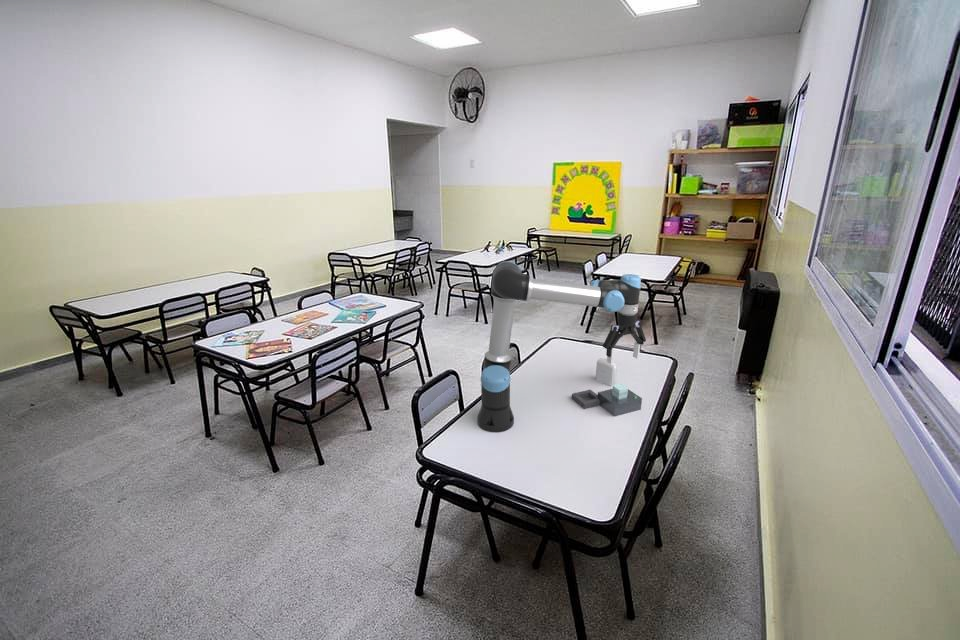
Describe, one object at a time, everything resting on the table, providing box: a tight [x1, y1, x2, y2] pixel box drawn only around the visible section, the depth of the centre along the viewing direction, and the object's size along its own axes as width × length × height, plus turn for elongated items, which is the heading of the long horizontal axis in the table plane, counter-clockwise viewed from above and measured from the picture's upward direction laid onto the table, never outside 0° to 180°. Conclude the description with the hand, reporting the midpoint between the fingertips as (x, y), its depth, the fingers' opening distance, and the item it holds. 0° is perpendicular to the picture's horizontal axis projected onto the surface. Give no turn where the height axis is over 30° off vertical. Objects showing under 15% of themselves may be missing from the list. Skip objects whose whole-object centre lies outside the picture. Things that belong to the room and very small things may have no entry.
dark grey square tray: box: [571, 389, 601, 410], centre depth 195 cm, size 10×10×3 cm
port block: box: [597, 388, 643, 418], centre depth 190 cm, size 14×12×6 cm
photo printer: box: [595, 357, 618, 388], centre depth 211 cm, size 10×4×12 cm, turn 39°
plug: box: [611, 383, 629, 400], centre depth 190 cm, size 5×5×9 cm
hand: (622, 360), depth 184 cm, fingers open, 13 cm apart
